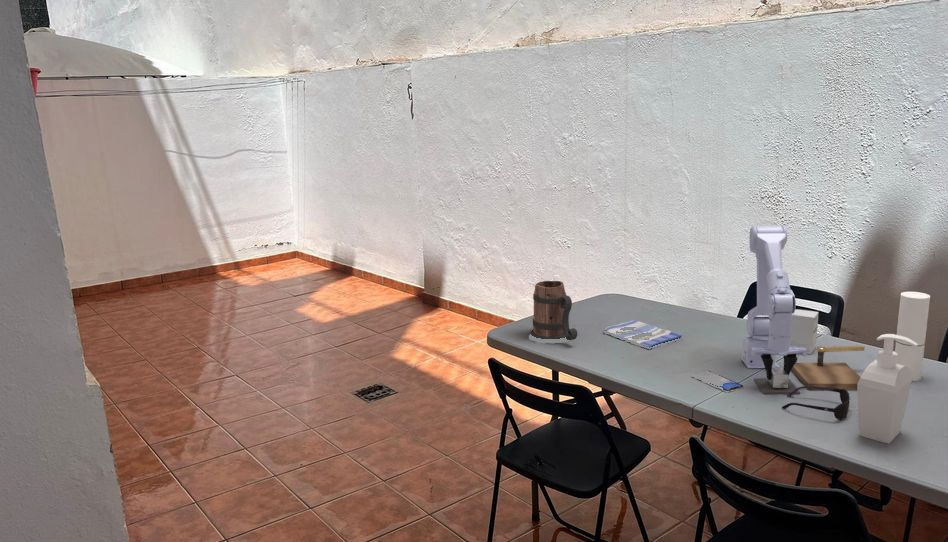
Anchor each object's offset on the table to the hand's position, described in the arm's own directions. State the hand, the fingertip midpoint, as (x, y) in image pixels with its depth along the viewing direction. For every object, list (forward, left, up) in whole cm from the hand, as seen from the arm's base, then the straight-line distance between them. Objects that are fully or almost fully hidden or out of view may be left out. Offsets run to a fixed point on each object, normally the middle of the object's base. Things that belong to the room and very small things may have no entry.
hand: (777, 378), depth 202 cm
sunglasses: (+6, -14, -3) cm, 16 cm away
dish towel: (-33, +45, -3) cm, 56 cm away
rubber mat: (0, 0, -3) cm, 3 cm away
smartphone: (-16, +4, -3) cm, 17 cm away
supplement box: (+17, +31, -3) cm, 35 cm away
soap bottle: (+17, -29, -3) cm, 34 cm away
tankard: (-64, +43, -3) cm, 77 cm away
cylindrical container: (+39, +8, -3) cm, 40 cm away
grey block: (0, 0, -2) cm, 2 cm away
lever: (+22, +13, +4) cm, 25 cm away
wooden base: (+16, +6, -3) cm, 17 cm away
